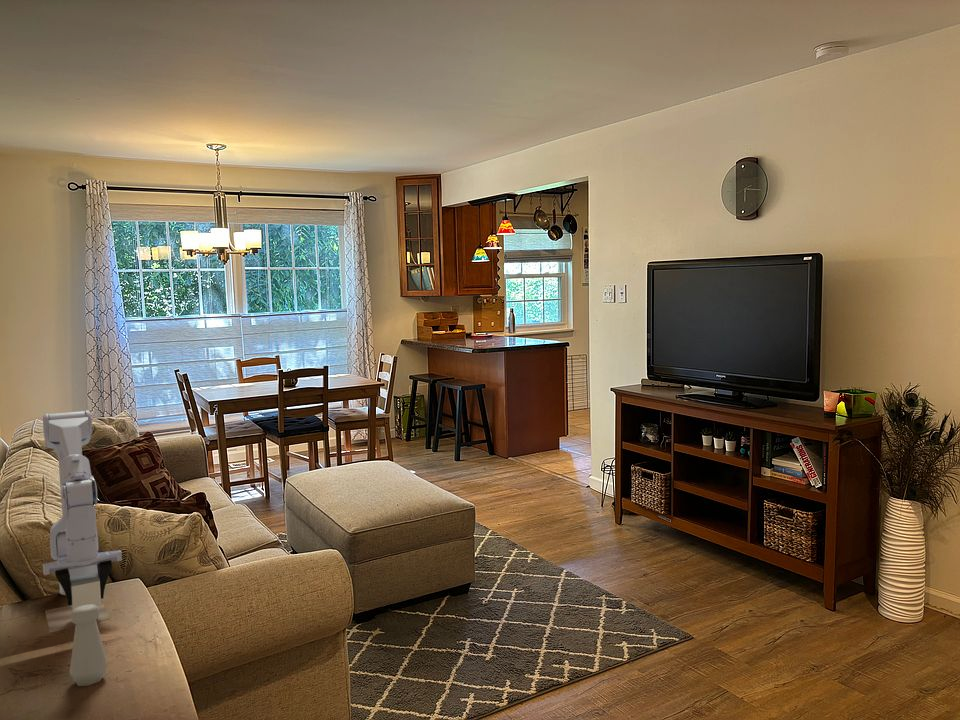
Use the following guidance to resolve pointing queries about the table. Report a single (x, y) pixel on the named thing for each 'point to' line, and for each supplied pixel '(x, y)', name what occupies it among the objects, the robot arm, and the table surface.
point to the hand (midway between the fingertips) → (85, 600)
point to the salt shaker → (87, 647)
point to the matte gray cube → (85, 590)
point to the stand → (68, 617)
